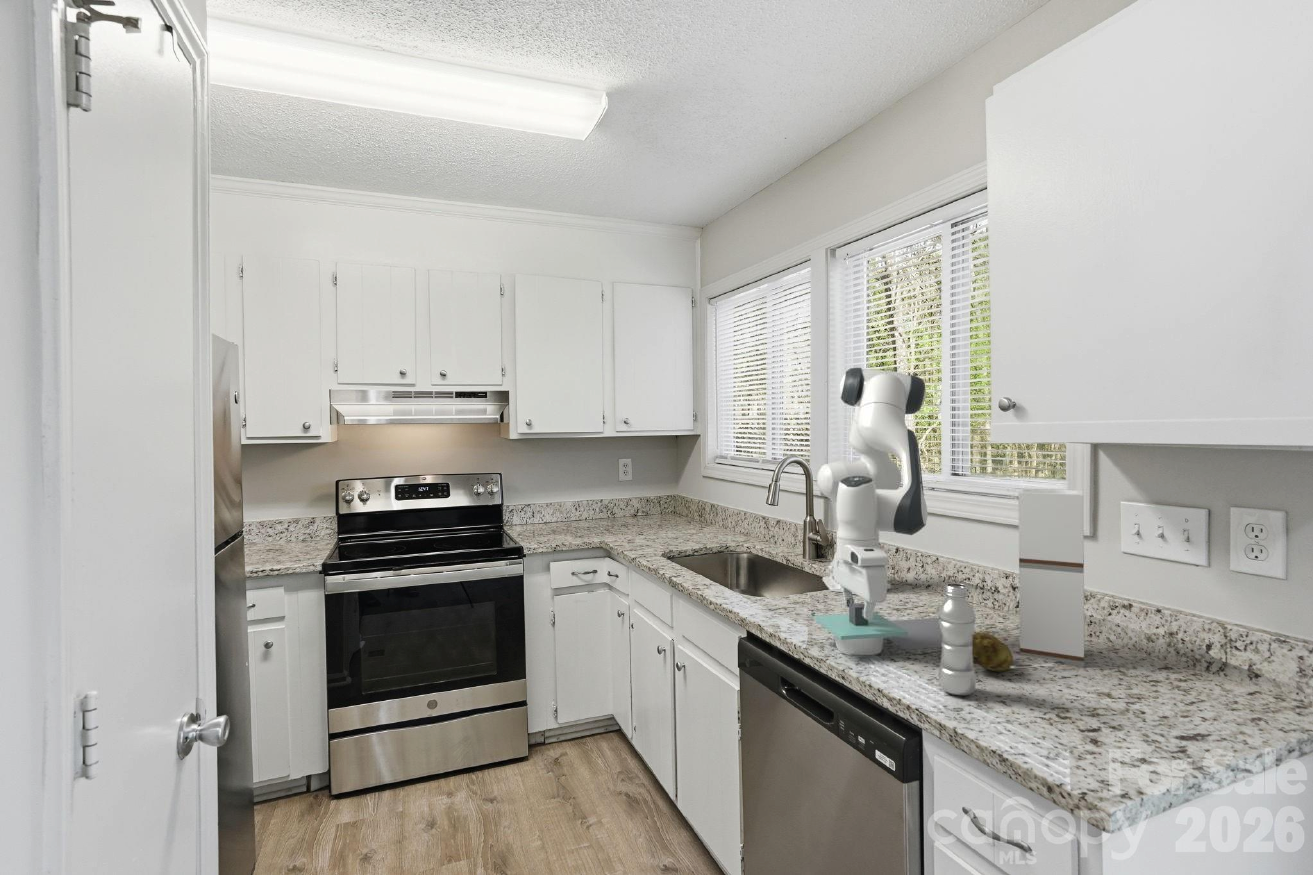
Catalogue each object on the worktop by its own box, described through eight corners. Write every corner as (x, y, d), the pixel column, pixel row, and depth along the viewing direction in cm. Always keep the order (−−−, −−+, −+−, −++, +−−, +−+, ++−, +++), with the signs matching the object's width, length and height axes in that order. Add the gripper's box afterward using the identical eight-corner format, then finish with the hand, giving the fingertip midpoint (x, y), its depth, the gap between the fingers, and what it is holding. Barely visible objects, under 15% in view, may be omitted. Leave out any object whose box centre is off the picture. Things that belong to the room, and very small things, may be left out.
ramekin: (848, 639, 154) (848, 616, 154) (894, 649, 146) (894, 626, 146) (823, 651, 146) (823, 627, 146) (870, 663, 138) (870, 638, 138)
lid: (813, 619, 152) (813, 598, 152) (874, 615, 154) (874, 595, 154) (840, 639, 137) (840, 617, 137) (907, 635, 140) (907, 612, 140)
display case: (1084, 651, 142) (1083, 490, 141) (1084, 667, 133) (1082, 495, 133) (1024, 642, 148) (1022, 488, 148) (1019, 657, 140) (1018, 492, 139)
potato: (1031, 670, 132) (1031, 631, 132) (988, 683, 126) (988, 641, 126) (994, 658, 139) (994, 620, 139) (952, 669, 134) (951, 630, 134)
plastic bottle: (976, 688, 124) (974, 582, 124) (977, 702, 118) (976, 591, 117) (938, 683, 127) (937, 579, 126) (938, 696, 120) (936, 588, 120)
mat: (864, 624, 164) (864, 622, 164) (939, 620, 166) (939, 617, 166) (903, 651, 144) (903, 649, 144) (988, 646, 147) (988, 643, 147)
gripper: (825, 542, 156) (826, 600, 156) (863, 560, 135) (864, 626, 136) (851, 541, 156) (852, 599, 157) (892, 558, 136) (893, 625, 136)
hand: (858, 612), depth 146 cm, fingers open, 8 cm apart
